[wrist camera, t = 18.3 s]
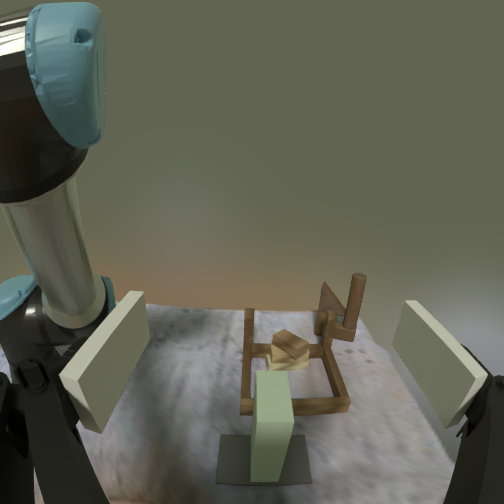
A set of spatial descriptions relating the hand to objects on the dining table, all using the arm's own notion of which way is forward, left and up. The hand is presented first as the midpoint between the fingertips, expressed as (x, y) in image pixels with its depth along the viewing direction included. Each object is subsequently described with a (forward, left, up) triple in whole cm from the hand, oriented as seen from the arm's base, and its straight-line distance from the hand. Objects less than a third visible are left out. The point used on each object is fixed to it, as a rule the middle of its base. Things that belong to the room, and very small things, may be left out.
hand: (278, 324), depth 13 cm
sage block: (+2, +13, -34) cm, 36 cm away
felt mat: (+2, +13, -34) cm, 36 cm away
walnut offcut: (+8, +38, -29) cm, 49 cm away
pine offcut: (+8, +38, -34) cm, 52 cm away
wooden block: (+22, +51, -34) cm, 65 cm away
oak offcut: (+8, +38, -32) cm, 50 cm away
